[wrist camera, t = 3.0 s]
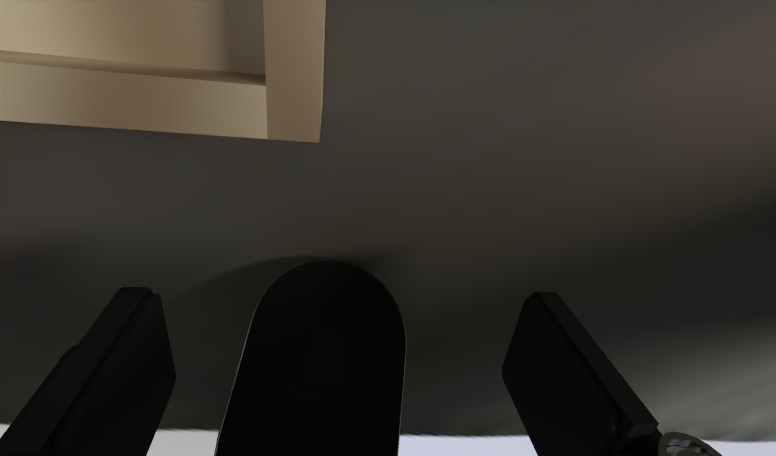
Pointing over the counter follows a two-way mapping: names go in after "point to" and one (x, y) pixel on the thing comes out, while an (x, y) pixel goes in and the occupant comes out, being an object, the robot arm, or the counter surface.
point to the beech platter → (166, 65)
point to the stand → (319, 368)
